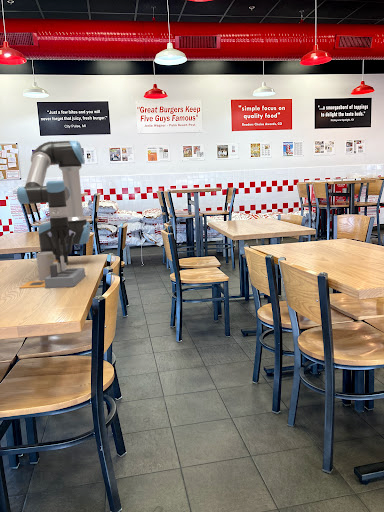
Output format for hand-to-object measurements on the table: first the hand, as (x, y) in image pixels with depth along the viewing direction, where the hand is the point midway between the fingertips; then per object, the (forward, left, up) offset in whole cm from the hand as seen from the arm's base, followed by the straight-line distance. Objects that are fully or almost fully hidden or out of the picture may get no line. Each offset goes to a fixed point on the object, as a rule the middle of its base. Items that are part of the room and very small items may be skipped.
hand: (64, 270), depth 189 cm
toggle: (0, -3, -1) cm, 3 cm away
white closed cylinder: (-9, -11, -6) cm, 15 cm away
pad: (+3, -12, -5) cm, 13 cm away
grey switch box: (0, 0, -5) cm, 5 cm away
